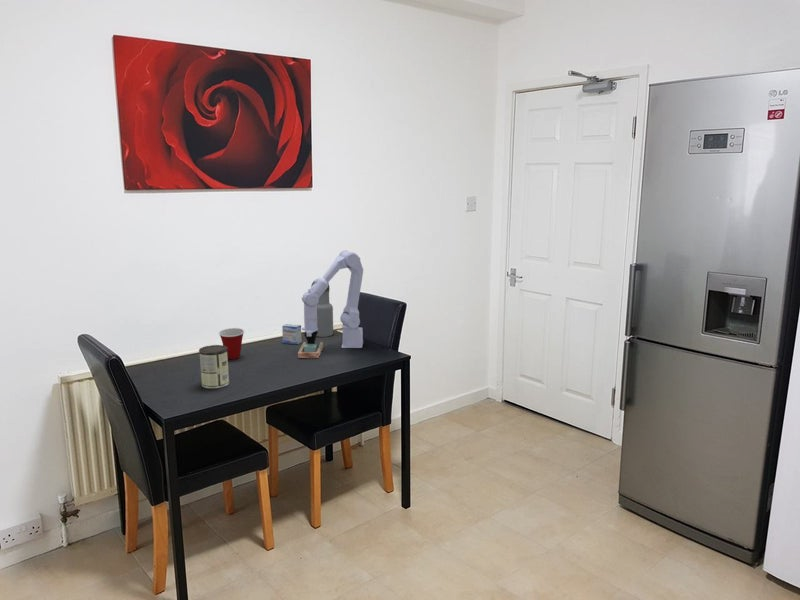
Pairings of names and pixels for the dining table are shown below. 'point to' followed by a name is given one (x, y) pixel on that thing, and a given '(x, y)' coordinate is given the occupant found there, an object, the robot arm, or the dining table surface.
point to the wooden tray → (310, 354)
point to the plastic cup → (232, 341)
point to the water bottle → (324, 315)
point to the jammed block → (310, 348)
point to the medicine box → (291, 334)
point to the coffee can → (214, 366)
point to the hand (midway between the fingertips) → (311, 348)
